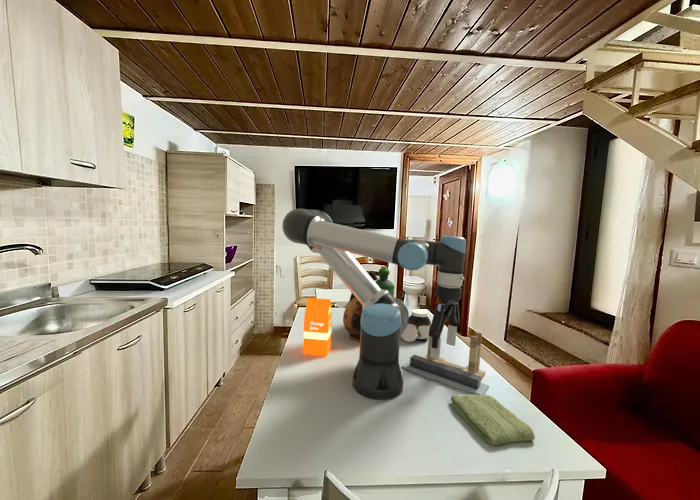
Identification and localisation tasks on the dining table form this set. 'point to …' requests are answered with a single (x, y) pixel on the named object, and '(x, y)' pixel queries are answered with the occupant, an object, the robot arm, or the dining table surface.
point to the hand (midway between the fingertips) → (443, 350)
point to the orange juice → (317, 327)
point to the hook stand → (473, 356)
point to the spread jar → (417, 326)
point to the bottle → (385, 280)
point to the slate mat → (480, 391)
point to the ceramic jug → (354, 315)
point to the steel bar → (446, 371)
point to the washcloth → (491, 419)
